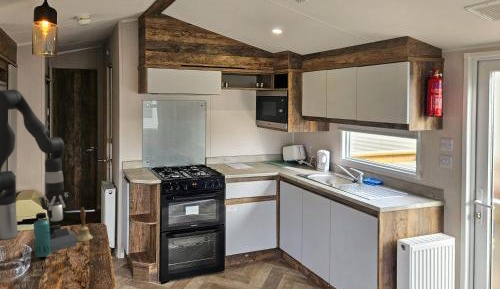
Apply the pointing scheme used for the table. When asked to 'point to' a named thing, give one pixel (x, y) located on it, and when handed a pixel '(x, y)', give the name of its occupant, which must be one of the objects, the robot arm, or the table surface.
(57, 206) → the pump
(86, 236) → the hand bell
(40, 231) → the beverage bottle
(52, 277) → the table surface
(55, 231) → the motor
